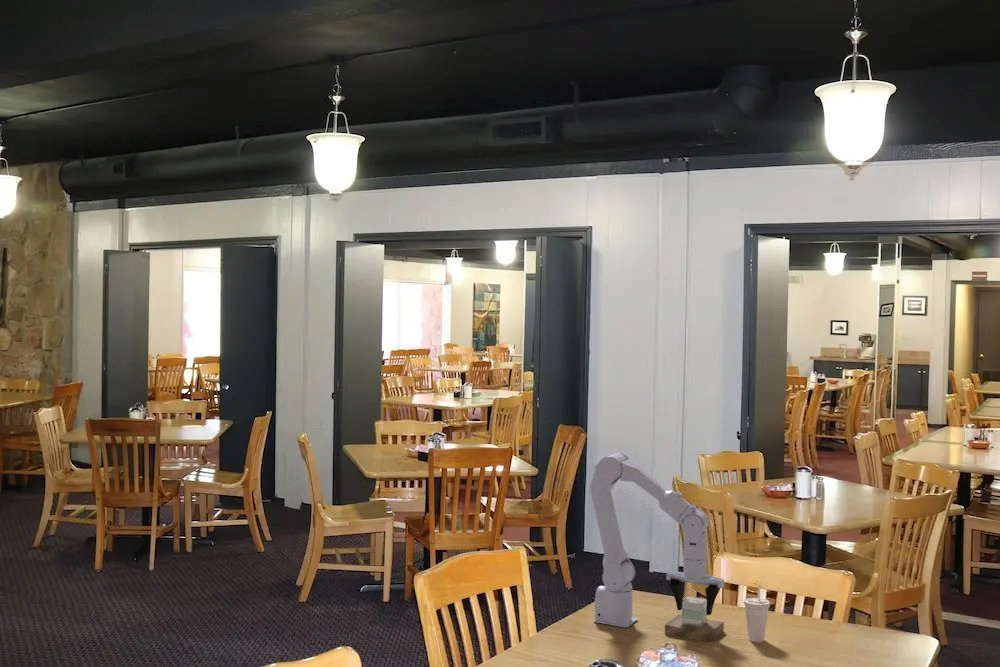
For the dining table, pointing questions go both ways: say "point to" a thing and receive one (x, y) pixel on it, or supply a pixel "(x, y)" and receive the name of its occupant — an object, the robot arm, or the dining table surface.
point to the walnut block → (694, 629)
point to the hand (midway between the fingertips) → (694, 611)
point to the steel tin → (694, 612)
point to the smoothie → (756, 617)
